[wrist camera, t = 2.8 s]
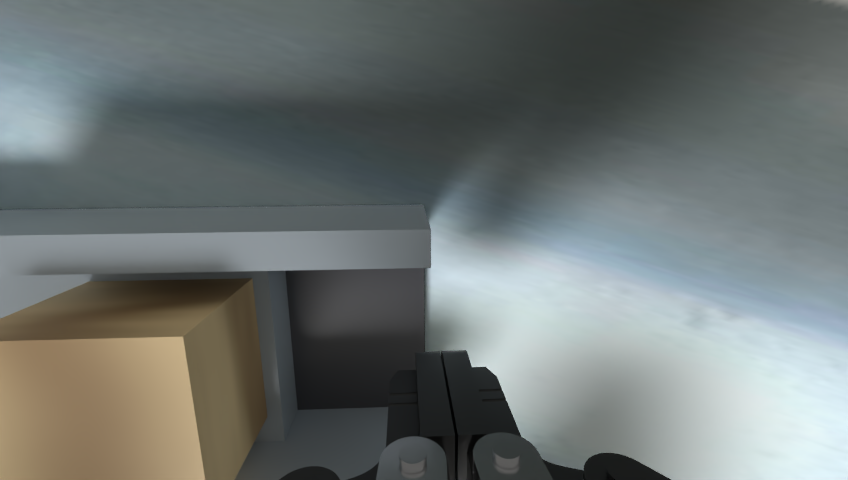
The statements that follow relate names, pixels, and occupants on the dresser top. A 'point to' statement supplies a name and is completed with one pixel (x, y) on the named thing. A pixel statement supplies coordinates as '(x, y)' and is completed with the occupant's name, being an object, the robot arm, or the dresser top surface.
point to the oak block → (132, 382)
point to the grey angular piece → (263, 303)
